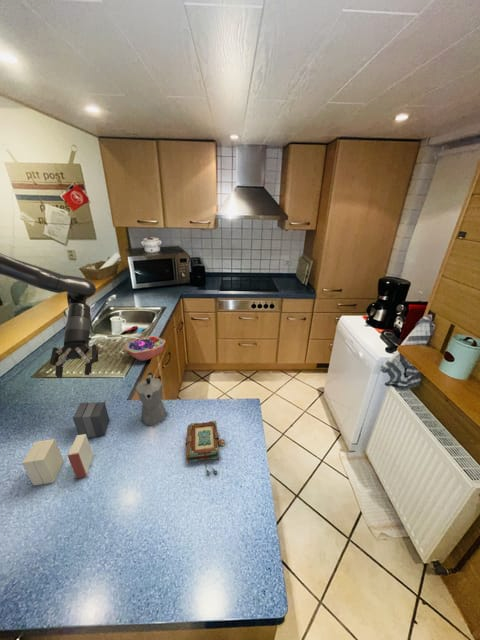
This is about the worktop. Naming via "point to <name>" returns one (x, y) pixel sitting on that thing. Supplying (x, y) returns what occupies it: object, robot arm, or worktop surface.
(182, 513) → the worktop surface
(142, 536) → the worktop surface
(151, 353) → the cell model
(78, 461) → the cream red flat block
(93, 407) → the dark grey striped block
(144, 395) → the coffeepot
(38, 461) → the cream box
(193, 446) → the decorative book
